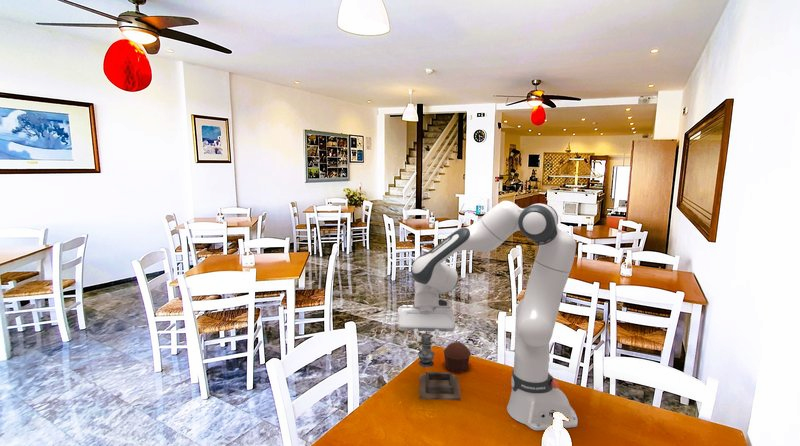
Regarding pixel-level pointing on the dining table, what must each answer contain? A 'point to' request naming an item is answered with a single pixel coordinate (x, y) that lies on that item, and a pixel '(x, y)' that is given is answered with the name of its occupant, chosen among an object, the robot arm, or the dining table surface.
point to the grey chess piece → (426, 351)
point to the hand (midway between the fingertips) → (426, 342)
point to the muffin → (457, 357)
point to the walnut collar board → (439, 386)
